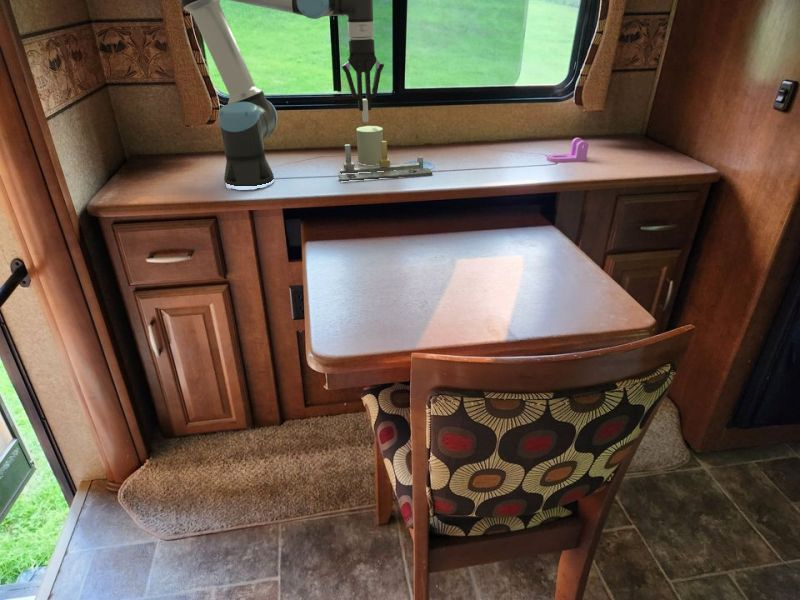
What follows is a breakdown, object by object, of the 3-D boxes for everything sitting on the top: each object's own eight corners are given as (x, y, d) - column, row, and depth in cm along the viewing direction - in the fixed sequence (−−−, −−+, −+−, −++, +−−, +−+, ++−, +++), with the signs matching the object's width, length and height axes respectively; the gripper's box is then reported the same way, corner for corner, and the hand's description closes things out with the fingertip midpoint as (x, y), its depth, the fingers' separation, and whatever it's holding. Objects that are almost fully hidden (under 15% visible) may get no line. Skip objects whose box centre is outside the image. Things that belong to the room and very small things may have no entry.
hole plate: (340, 182, 164) (340, 179, 163) (338, 178, 168) (338, 174, 167) (432, 175, 169) (432, 172, 169) (428, 170, 173) (428, 167, 173)
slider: (381, 167, 172) (380, 142, 168) (379, 164, 174) (378, 140, 170) (389, 166, 172) (389, 142, 168) (388, 164, 175) (387, 140, 171)
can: (372, 167, 178) (371, 131, 171) (352, 163, 182) (350, 128, 176) (389, 161, 184) (388, 126, 178) (369, 157, 189) (367, 123, 183)
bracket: (579, 157, 186) (582, 137, 183) (585, 161, 181) (589, 141, 178) (544, 158, 185) (546, 138, 181) (550, 163, 180) (552, 142, 177)
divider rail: (340, 175, 170) (338, 146, 165) (339, 172, 173) (337, 144, 168) (423, 168, 175) (423, 140, 171) (420, 166, 178) (421, 138, 173)
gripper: (340, 40, 148) (346, 125, 160) (385, 38, 151) (388, 122, 163) (337, 38, 155) (343, 120, 167) (380, 36, 157) (383, 117, 169)
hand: (365, 121), depth 165 cm, fingers closed
